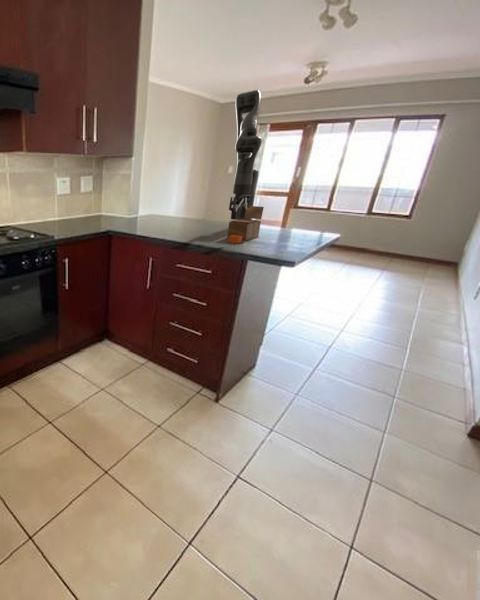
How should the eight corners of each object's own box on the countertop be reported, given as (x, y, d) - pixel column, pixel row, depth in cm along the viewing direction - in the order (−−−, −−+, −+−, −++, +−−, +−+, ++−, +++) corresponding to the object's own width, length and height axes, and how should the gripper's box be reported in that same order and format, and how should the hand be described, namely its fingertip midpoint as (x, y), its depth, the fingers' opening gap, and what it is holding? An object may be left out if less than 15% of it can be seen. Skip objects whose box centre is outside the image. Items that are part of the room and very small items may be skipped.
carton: (240, 234, 184) (242, 217, 180) (258, 236, 176) (261, 219, 173) (227, 238, 177) (229, 220, 173) (245, 240, 169) (248, 222, 166)
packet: (232, 240, 170) (233, 234, 169) (241, 242, 166) (242, 236, 165) (227, 241, 168) (228, 236, 167) (237, 243, 164) (238, 237, 163)
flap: (242, 217, 180) (242, 217, 180) (260, 219, 173) (261, 219, 173) (244, 205, 178) (245, 205, 178) (263, 206, 171) (263, 206, 171)
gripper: (243, 182, 164) (238, 216, 169) (226, 183, 156) (222, 219, 162) (258, 182, 158) (252, 217, 164) (242, 184, 150) (237, 220, 156)
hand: (237, 218), depth 163 cm, fingers open, 8 cm apart
